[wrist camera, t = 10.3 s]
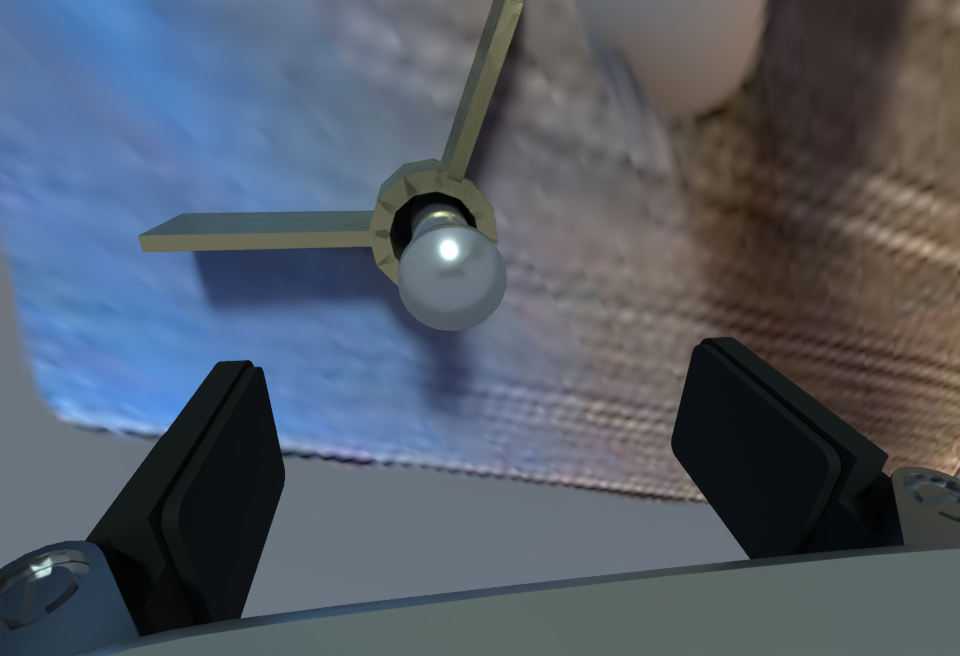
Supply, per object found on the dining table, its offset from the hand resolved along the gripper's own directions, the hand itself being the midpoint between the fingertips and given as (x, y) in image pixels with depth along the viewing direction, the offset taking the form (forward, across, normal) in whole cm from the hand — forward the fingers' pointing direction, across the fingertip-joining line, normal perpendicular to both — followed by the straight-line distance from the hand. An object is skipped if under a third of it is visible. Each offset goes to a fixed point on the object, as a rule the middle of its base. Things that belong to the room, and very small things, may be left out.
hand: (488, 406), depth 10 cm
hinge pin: (+21, 0, 0) cm, 21 cm away
